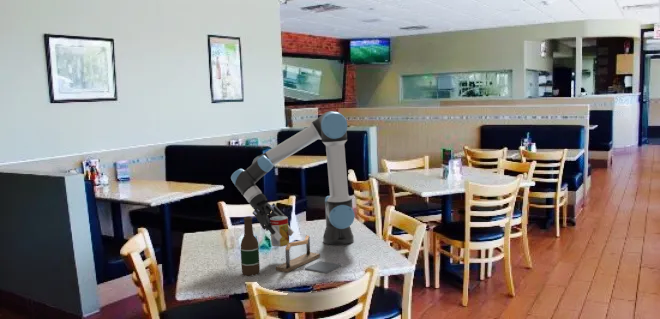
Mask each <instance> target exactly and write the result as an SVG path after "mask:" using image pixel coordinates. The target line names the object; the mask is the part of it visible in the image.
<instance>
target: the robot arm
mask: <svg viewBox="0 0 660 319" xmlns="http://www.w3.org/2000/svg"><path fill="white" fill-rule="evenodd" d="M347 121H348V120H347V119H346V117H345V116H344V115H343V114H342V113H341V112H338V111H334V110H329V111H326V112H324V113H323V114H322V115H320V116H319V117H317V118H316V119H315V120H313V121H311V122H310V125H309V126H307V127H305V128H304V129H302V130H300V131H299V132H297V133H296V134H294V135H292V136H291V137H289V138H287V139H285V140H284V141H282V142H281V143H279V144H277V145H274V147H272V148H271V149H269V150H267V151H265V152H264V153H262V154H260V155H257V156H256V157H255V158H254V159H253V161H252V163H251V165H250V166H248V167H247V168H246V169H243V168H239V169H238V168H237V170H235V171H234V172H233V173H232V174H231V176H230V179H231V181H232V183H233V184H234V186H235V187H236V189H237V190H238V192H240V193H241V195H242V196H243V197H244V198H245V200H246V201H247V203H249V205H250V206H251V208H252V210H253V211H252V214H253V215H254V217H256V220H257V221H258V223H259V225H260V227H261V228H262V229H263V230H265V231H266V232H268V231H269V233H270V235H271V234H272V235H273V236H274V237H275V238H276V239H277V241H279V240H280V239H281V238H282V236H281V235H280V234H279V232H278V231H277V230H276V228H275V227H274V226H272V227H271V223H270V218H269V217H274V216H286V215H285V213H283V212H282V211H281V210H280V209H279V208H278V207H277V205H276V203H272V204H270V203H269V202H268V198H267V197H266V195H264V193H263V192H262V190H261V189H260V188H259V187H258V186H257V184H256V183H257V182H259V180H261V178H263V177H264V176H265V175H267V174H268V173H269V172H270V171H271V170H272V169H273V168H274V166H276V165H277V164H279V163H281V162H283V161H284V160H286V159H287V158H289V157H290V156H292V155H294V154H296V153H298V152H299V151H301V150H302V149H304V148H306V147H307V146H309V145H311V144H312V143H315V142H316V141H317V140H321V142H322V143H323V144H324V146H325V152H326V164H327V176H328V187H329V188H328V189H329V195H327V196H325V197H324V198H325V199H324V204H325V230H324V231H323V232H324V233H323V237H322V240H323V242H322V243H324V244H326V245H332V246H343V245H349V244H352V243H353V242H354V240H355V238H354V235H353V234H354V233H353V231H352V228H351V226H352V224H353V223H354V222H355V214H356V213H355V211H354V209H353V197H352V196H351V195H350V194H349V188H348V187H349V186H348V185H349V184H348V172H347V163H346V161H347V160H346V148H345V144H346V142H347V141H348V133H347V130H348V122H347ZM288 230H289V237H291V236H292V235H293V234H294V233H295V231H294V230H293V229H292V228H291V226H290V225H289V224H288Z"/></svg>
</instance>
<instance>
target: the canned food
mask: <svg viewBox="0 0 660 319" xmlns="http://www.w3.org/2000/svg"><path fill="white" fill-rule="evenodd" d="M269 221H270V223H271V227H272V226H274V227H275V228H276V230H277V231H278V232H279V234H280V235H281V236H282V238H281V239H280V240H279V241H277V239H276V238H275V237H274V236H273V235H272V234H271V233H270V240H271V246H272V247H276V248H278V247H279V248H280V247H286V246H287V244H288V243H290V236H289V230H288V225H289V218H288V216H286V215H285V216H274V217H272V216H270V218H269Z"/></svg>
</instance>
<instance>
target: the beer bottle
mask: <svg viewBox="0 0 660 319" xmlns="http://www.w3.org/2000/svg"><path fill="white" fill-rule="evenodd" d="M243 222H244V223H243V227H244V228H243V237H242V239H241V241H240V263H241V273H242V276H245V275H246V277H251V276H252V275H254V276H256V274H257V275H259V274H260V270H261V269H260V267H261V265H260V251H259V250H260V248H259V241H258V239H257V238H256V236H255V234H254V228H253V217H252V216H250V215H249V216H244V217H243ZM258 273H259V274H258ZM252 277H253V276H252Z"/></svg>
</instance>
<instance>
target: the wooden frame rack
mask: <svg viewBox="0 0 660 319" xmlns="http://www.w3.org/2000/svg"><path fill="white" fill-rule="evenodd" d="M310 241H311V240H310V235H306V236H305V237H304V240H298V241H292V242H289V243H288V244H287V246H285V251H284V252H285V262H283V263H281V264H280V265H276V266H275V270H276V271H278V270H279V272H284V273H289V272H291V271H294V270H295V269H297V268H299V267H302V266H304V265H306V264H308V263H310V262H312V261H314V260H316V259H319V258H320V257H321V254H320V253H317V252H311V244H310V243H311V242H310ZM303 245H306V246H305V248H306V249H305V250H306V253H304V254H301V255H300V256H297V257H295V258H292V259H291V258H290V250H291V248H292V247H295V246H303Z"/></svg>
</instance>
